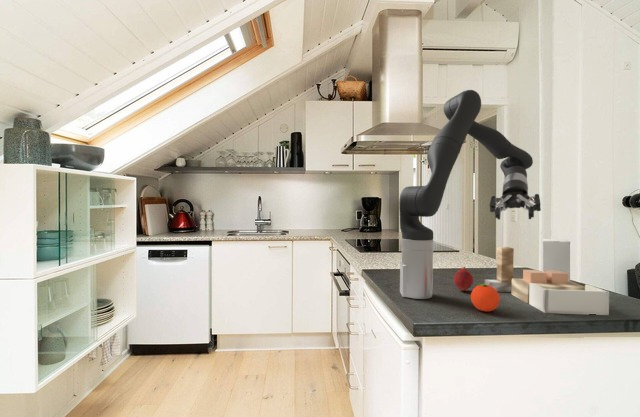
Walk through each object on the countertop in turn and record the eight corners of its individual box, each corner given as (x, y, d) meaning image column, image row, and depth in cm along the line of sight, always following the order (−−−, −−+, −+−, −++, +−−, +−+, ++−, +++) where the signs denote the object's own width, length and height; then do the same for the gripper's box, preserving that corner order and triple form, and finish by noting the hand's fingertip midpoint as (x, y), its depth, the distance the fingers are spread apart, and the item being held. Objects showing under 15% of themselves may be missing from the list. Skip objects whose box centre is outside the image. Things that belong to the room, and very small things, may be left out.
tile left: (530, 282, 104) (530, 272, 104) (523, 279, 108) (523, 269, 108) (546, 283, 103) (546, 273, 103) (538, 279, 108) (538, 270, 108)
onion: (474, 294, 109) (475, 268, 109) (455, 292, 111) (455, 267, 110) (470, 289, 115) (471, 265, 115) (452, 288, 116) (452, 264, 116)
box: (544, 312, 91) (545, 289, 91) (529, 303, 99) (529, 282, 99) (608, 315, 90) (609, 291, 90) (587, 305, 98) (588, 284, 98)
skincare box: (569, 283, 126) (570, 239, 126) (570, 286, 121) (571, 241, 120) (541, 280, 131) (542, 238, 130) (541, 283, 125) (542, 239, 125)
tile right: (551, 283, 103) (552, 273, 103) (543, 280, 108) (543, 270, 108) (568, 283, 103) (568, 273, 103) (558, 280, 107) (559, 270, 107)
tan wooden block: (527, 303, 100) (528, 286, 100) (511, 294, 110) (511, 278, 110) (587, 305, 98) (587, 287, 98) (565, 295, 108) (565, 279, 108)
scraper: (489, 291, 113) (490, 248, 113) (484, 288, 117) (485, 246, 117) (525, 292, 112) (526, 248, 112) (519, 289, 116) (519, 247, 116)
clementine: (463, 306, 97) (464, 280, 97) (487, 305, 97) (488, 280, 97) (478, 315, 89) (479, 287, 89) (505, 315, 89) (505, 287, 89)
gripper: (491, 180, 122) (487, 208, 111) (539, 177, 115) (540, 206, 103) (493, 198, 126) (489, 226, 115) (539, 196, 118) (541, 226, 107)
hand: (513, 217), depth 109 cm, fingers open, 8 cm apart
